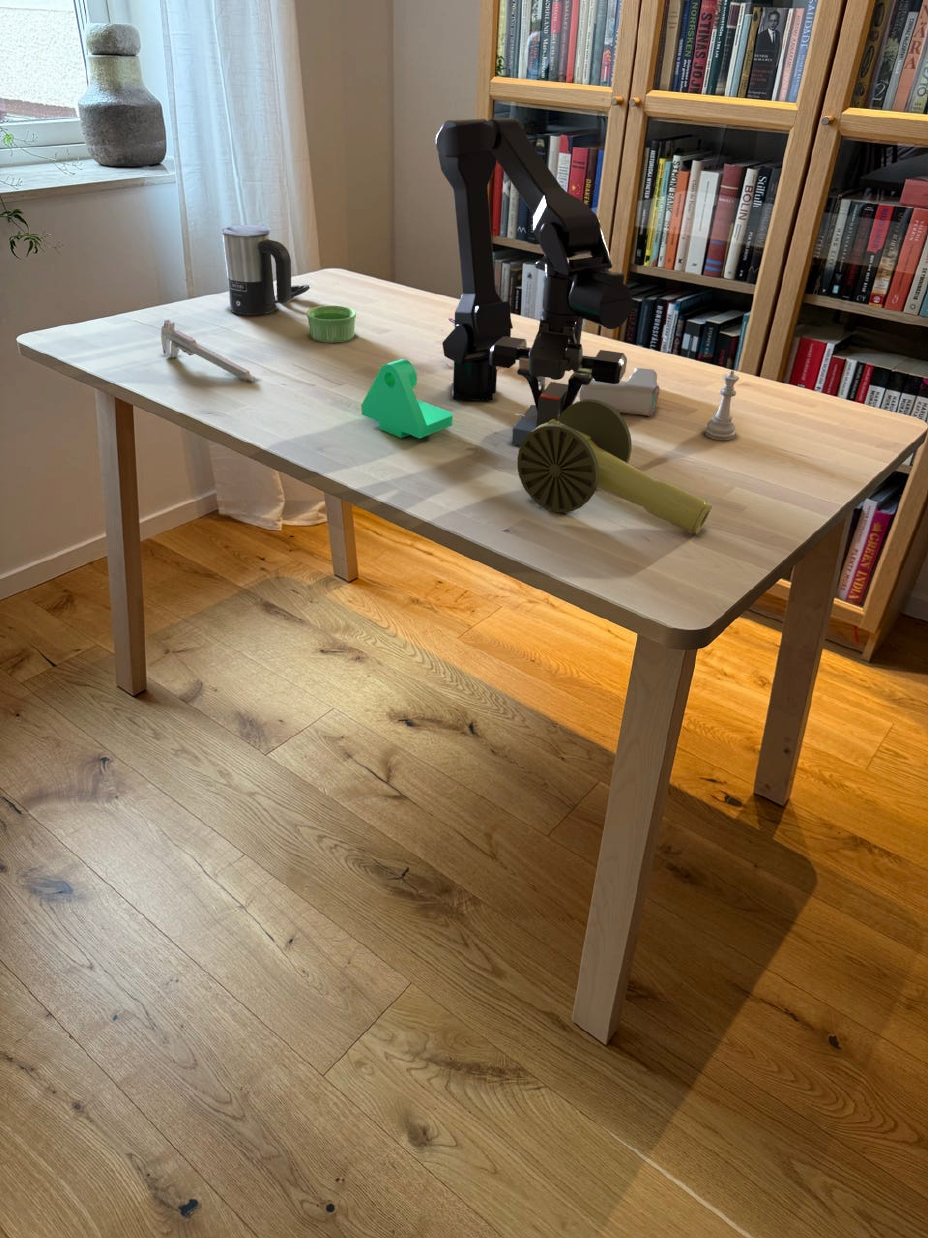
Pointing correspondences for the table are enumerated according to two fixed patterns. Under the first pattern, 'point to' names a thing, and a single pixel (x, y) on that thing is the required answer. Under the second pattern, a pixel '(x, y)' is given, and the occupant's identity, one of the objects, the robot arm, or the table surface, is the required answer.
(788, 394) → the table surface
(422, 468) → the table surface
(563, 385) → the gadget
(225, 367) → the caliper
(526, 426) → the base
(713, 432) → the chess piece
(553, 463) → the cannon
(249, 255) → the milk frother
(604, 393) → the infrared thermometer
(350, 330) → the ramekin
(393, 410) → the camera mount
